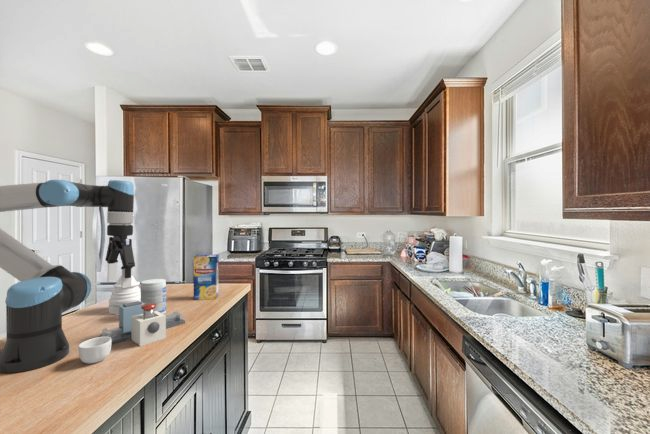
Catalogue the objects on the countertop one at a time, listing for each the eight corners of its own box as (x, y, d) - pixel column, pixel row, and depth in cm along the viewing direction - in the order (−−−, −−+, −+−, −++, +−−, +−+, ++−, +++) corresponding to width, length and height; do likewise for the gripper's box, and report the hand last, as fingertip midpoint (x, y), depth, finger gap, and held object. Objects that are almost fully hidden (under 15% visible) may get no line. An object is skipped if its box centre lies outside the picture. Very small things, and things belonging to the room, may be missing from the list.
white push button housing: (140, 346, 95) (140, 322, 95) (131, 339, 100) (131, 316, 100) (166, 338, 101) (166, 315, 101) (156, 332, 107) (156, 310, 107)
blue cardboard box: (216, 299, 149) (216, 256, 149) (193, 300, 147) (193, 256, 147) (218, 295, 156) (218, 254, 156) (197, 296, 154) (197, 254, 154)
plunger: (144, 330, 98) (144, 308, 98) (139, 326, 101) (139, 305, 101) (158, 326, 101) (158, 304, 101) (153, 323, 104) (153, 302, 104)
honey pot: (149, 307, 135) (149, 269, 135) (118, 316, 123) (118, 274, 123) (133, 303, 141) (133, 266, 141) (102, 311, 129) (102, 271, 129)
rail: (109, 344, 96) (109, 335, 96) (100, 336, 103) (100, 328, 103) (185, 323, 116) (185, 315, 116) (173, 317, 122) (173, 310, 122)
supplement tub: (169, 315, 125) (169, 281, 125) (143, 320, 119) (143, 284, 118) (162, 309, 132) (162, 277, 132) (138, 314, 126) (138, 280, 125)
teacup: (100, 366, 83) (100, 347, 83) (71, 367, 82) (71, 348, 82) (121, 350, 93) (121, 333, 93) (95, 351, 92) (95, 334, 92)
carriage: (123, 333, 102) (123, 306, 102) (119, 329, 105) (119, 304, 105) (145, 327, 107) (145, 302, 107) (140, 324, 110) (140, 299, 110)
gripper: (147, 225, 99) (145, 288, 99) (119, 223, 114) (118, 277, 114) (121, 225, 93) (119, 292, 93) (96, 223, 108) (94, 280, 108)
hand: (119, 284), depth 103 cm, fingers open, 13 cm apart
